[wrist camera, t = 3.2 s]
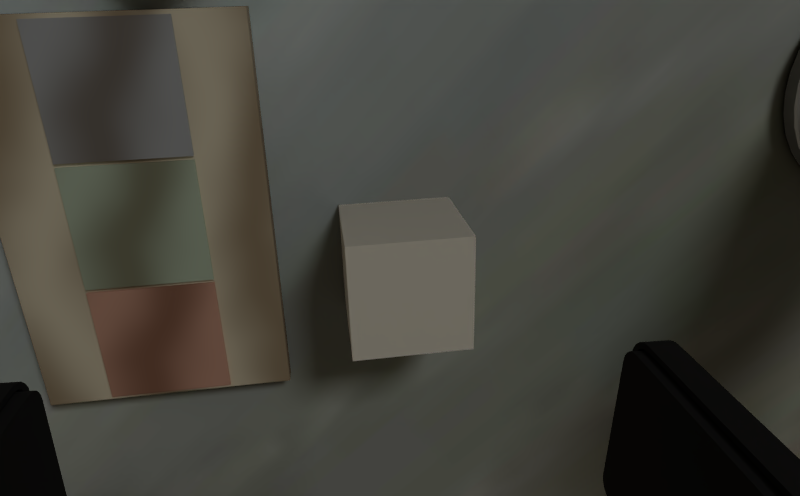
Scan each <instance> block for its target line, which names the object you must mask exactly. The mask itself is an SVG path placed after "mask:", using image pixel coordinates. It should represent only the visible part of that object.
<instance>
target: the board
mask: <svg viewBox="0 0 800 496" xmlns="http://www.w3.org/2000/svg"><path fill="white" fill-rule="evenodd" d="M0 238H1V241H2V244H3V248H4V251H5V254H6V258H7V261H8V264H9V267H10V271H11V274H12V277H13V281H14V284H15V287H16V291H17V294H18V297H19V300H20V304H21V307H22V310H23V314H24V317H25V320H26V324H27V327H28V330H29V333H30V337H31V340H32V343H33V347H34V350H35V353H36V357H37V360H38V363H39V366H40V370H41V373H42V376H43V380H44V383H45V386H46V390H47V393H48V396H49V399H50V403H51V405H58V404H68V403H77V402H87V401H96V400H106V399H115V398H125V397H134V396H144V395H153V394H163V393H172V392H182V391H191V390H201V389H210V388H220V387H230V386H239V385H249V384H258V383H268V382H277V381H287V380H290V373H291V369H290V361H289V352H288V344H287V335H286V326H285V318H284V309H283V301H282V292H281V283H280V275H279V266H278V257H277V249H276V240H275V232H274V223H273V214H272V206H271V197H270V189H269V180H268V171H267V163H266V154H265V146H264V137H263V128H262V120H261V111H260V102H259V94H258V85H257V77H256V68H255V59H254V51H253V42H252V34H251V25H250V16H249V8H248V6H235V7H205V8H175V9H145V10H115V11H85V12H54V13H24V14H0Z"/></svg>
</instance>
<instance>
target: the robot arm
mask: <svg viewBox="0 0 800 496" xmlns="http://www.w3.org/2000/svg"><path fill="white" fill-rule="evenodd" d="M783 116H784V126H785V135H786V138H787V141H788V144H789V147H790V150H791V152H792V154H793V156H794V157H795V159H796V160H797V162H798V164H799V165H800V50H799V52H798V54H797V57H796V59H795V61H794V64H793V66H792V69H791V71H790V75H789V79H788V83H787V87H786V91H785V100H784V112H783ZM603 483H604V488H605V491H606V494H607V496H800V459H799V458H798V457H797V456H796V455H794V454H793V453H792V452H791V451H790V450H789V449H788V448H787V447H786V446H785V445H784V444H783V443H782V442H781V441H780V440H779V439H778V438H777V437H775V436H774V435H773V434H772V433H771V432H770V431H769V430H768V429H767V428H766V427H765V426H764V425H763V424H762V423H761V422H760V421H759V420H757V419H756V418H755V417H754V416H753V415H752V414H751V413H750V412H749V411H748V410H747V409H746V408H745V407H744V406H743V405H742V404H741V403H740V402H738V401H737V400H736V399H735V398H734V397H733V396H732V395H731V394H730V393H729V392H728V391H727V390H726V389H725V388H724V387H723V386H722V385H721V384H719V383H718V382H717V381H716V380H715V379H714V378H713V377H712V376H711V375H710V374H709V373H708V372H707V371H706V370H705V369H704V368H703V367H702V366H700V365H699V364H698V363H697V362H696V361H695V360H694V359H693V358H692V357H691V356H690V355H689V354H688V353H687V352H686V351H685V350H684V349H683V348H681V347H680V346H679V345H678V344H677V343H676V342H674V341H669V340H668V341H652V342H639V343H638V344H636V345H635V347H634V348H633V351H630V352H628V353H627V354H626V355H625V357H624V361H623V367H622V372H621V378H620V384H619V389H618V395H617V400H616V406H615V412H614V417H613V423H612V428H611V434H610V440H609V445H608V451H607V456H606V462H605V468H604V473H603ZM0 496H67V495H66V491H65V487H64V483H63V479H62V475H61V471H60V467H59V464H58V460H57V456H56V452H55V448H54V444H53V440H52V436H51V432H50V428H49V424H48V420H47V416H46V412H45V408H44V404H43V400H42V397H41V395H40V393H39V392H38V391H29V388H28V387H27V385H26V384H25V383H23V382H10V383H0Z"/></svg>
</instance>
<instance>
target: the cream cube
mask: <svg viewBox="0 0 800 496" xmlns="http://www.w3.org/2000/svg"><path fill="white" fill-rule="evenodd" d="M338 206H339V220H340V234H341V247H342V261H343V275H344V289H345V302H346V311H347V319H348V327H349V335H350V343H351V351H352V359H353V361H361V360H370V359H380V358H390V357H399V356H409V355H419V354H429V353H438V352H448V351H458V350H467V349H474V309H475V257H476V236H475V234H474V233H473V231H472V230H471V229H470V227H469V226H468V224H467V223H466V221H465V220H464V219H463V217H462V216H461V214H460V213H459V211H458V210H457V208H456V207H455V206H454V204H453V203H452V201H451V200H450V198H449V197H441V198H427V199H414V200H400V201H387V202H373V203H359V204H346V205H338Z"/></svg>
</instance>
